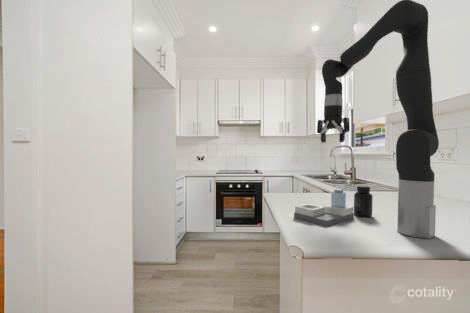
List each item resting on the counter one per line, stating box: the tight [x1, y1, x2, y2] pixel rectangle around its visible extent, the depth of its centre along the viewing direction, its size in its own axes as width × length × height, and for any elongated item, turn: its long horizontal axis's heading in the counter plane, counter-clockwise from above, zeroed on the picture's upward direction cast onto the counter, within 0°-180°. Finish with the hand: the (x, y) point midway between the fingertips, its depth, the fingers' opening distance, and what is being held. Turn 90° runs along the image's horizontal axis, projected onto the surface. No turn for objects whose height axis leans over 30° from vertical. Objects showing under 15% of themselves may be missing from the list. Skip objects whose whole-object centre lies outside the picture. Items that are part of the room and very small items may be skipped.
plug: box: [330, 188, 347, 208], centre depth 98 cm, size 4×4×9 cm
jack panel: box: [293, 203, 355, 227], centre depth 98 cm, size 14×19×4 cm
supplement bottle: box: [353, 185, 374, 218], centre depth 103 cm, size 7×7×12 cm
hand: (332, 142), depth 111 cm, fingers open, 8 cm apart
